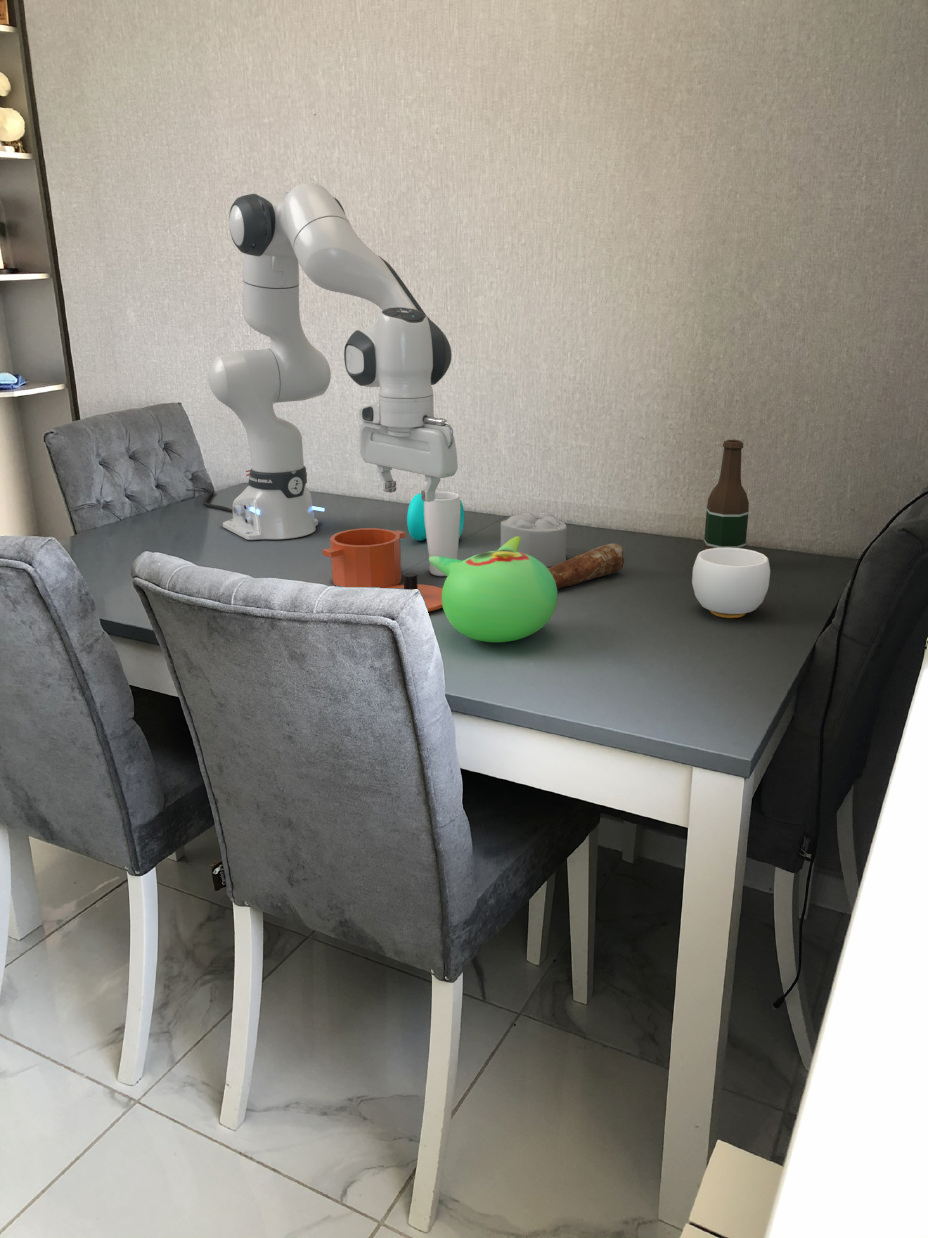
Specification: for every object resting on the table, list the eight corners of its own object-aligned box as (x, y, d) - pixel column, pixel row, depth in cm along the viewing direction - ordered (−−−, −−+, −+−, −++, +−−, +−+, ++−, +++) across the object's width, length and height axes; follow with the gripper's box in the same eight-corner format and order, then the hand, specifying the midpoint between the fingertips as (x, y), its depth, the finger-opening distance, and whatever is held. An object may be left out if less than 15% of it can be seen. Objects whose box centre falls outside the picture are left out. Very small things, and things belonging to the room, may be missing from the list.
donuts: (450, 549, 199) (450, 501, 195) (405, 545, 202) (404, 498, 199) (466, 536, 208) (465, 491, 204) (422, 533, 211) (421, 488, 207)
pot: (307, 585, 177) (304, 540, 175) (381, 564, 190) (379, 522, 187) (352, 600, 169) (349, 553, 166) (425, 577, 181) (424, 533, 178)
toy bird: (467, 665, 141) (466, 569, 136) (425, 628, 156) (422, 540, 151) (574, 645, 148) (577, 553, 143) (524, 612, 163) (525, 527, 157)
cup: (753, 630, 153) (759, 572, 150) (679, 617, 159) (683, 560, 156) (775, 607, 163) (780, 552, 160) (704, 596, 169) (708, 542, 166)
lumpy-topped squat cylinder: (525, 547, 200) (525, 506, 197) (577, 558, 192) (579, 515, 189) (493, 558, 192) (493, 516, 189) (547, 570, 184) (548, 526, 181)
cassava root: (626, 574, 181) (628, 545, 179) (552, 596, 170) (552, 565, 168) (602, 567, 186) (603, 539, 184) (528, 587, 175) (528, 557, 173)
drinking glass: (457, 579, 180) (456, 500, 175) (421, 577, 181) (419, 499, 176) (464, 568, 186) (463, 492, 181) (430, 567, 187) (428, 490, 182)
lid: (354, 604, 167) (353, 575, 166) (412, 585, 177) (411, 558, 175) (409, 622, 158) (408, 592, 157) (467, 602, 168) (467, 573, 166)
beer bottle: (746, 562, 188) (758, 438, 179) (739, 573, 181) (751, 445, 173) (706, 558, 191) (716, 436, 182) (698, 569, 184) (707, 442, 176)
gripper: (466, 417, 153) (466, 503, 158) (380, 404, 166) (382, 483, 171) (437, 422, 149) (438, 510, 153) (351, 408, 162) (355, 489, 167)
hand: (408, 496), depth 162 cm, fingers open, 8 cm apart
